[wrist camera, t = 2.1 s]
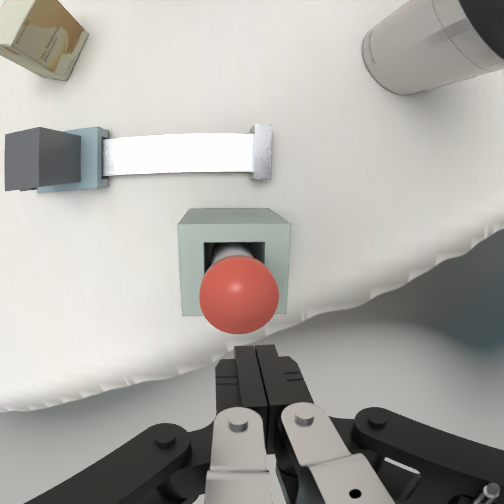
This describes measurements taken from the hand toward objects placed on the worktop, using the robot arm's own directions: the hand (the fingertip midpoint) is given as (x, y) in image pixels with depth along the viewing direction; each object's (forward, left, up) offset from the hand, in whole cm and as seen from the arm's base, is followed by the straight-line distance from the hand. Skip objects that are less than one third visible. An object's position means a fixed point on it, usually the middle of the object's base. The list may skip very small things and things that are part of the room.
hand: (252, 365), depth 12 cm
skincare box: (+19, -22, -22) cm, 37 cm away
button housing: (0, 0, -22) cm, 22 cm away
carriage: (+16, -9, -22) cm, 29 cm away
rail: (+9, -9, -22) cm, 26 cm away
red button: (0, 0, -17) cm, 17 cm away
